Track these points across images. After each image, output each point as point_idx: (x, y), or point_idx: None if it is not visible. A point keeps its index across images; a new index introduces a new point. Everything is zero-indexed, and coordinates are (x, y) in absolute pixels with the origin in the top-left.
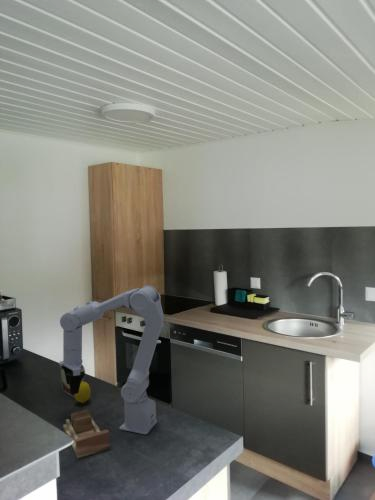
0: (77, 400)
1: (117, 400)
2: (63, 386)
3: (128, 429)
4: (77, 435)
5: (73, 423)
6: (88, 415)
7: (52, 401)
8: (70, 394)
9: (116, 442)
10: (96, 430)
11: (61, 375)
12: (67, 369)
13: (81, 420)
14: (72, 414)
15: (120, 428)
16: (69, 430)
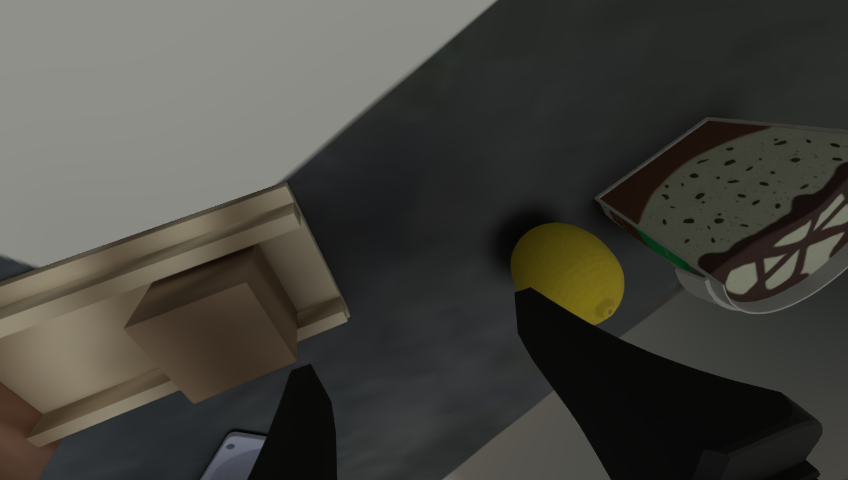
0: (526, 233)
1: (493, 373)
2: (724, 128)
3: (211, 469)
4: (148, 285)
5: (186, 285)
6: (208, 386)
7: (617, 70)
8: (639, 168)
9: (112, 441)
10: (140, 393)
11: (812, 129)
12: (626, 423)
13: (157, 353)
14: (232, 293)
15: (226, 440)
16: (203, 236)
